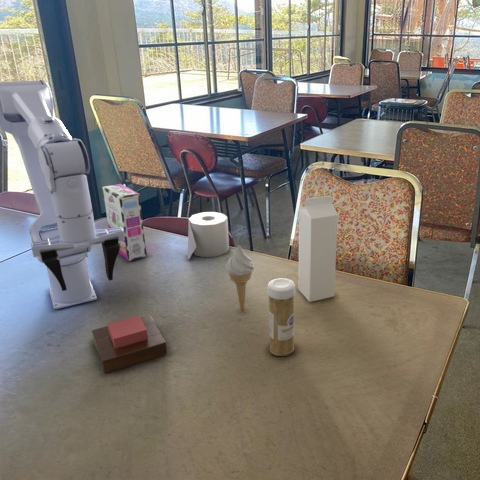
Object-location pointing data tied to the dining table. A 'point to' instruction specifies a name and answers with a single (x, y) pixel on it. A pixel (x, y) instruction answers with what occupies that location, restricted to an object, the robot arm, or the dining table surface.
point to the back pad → (127, 331)
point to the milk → (317, 248)
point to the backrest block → (129, 347)
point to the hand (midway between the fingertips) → (87, 283)
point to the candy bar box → (126, 219)
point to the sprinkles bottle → (281, 316)
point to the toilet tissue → (208, 234)
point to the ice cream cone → (240, 273)
